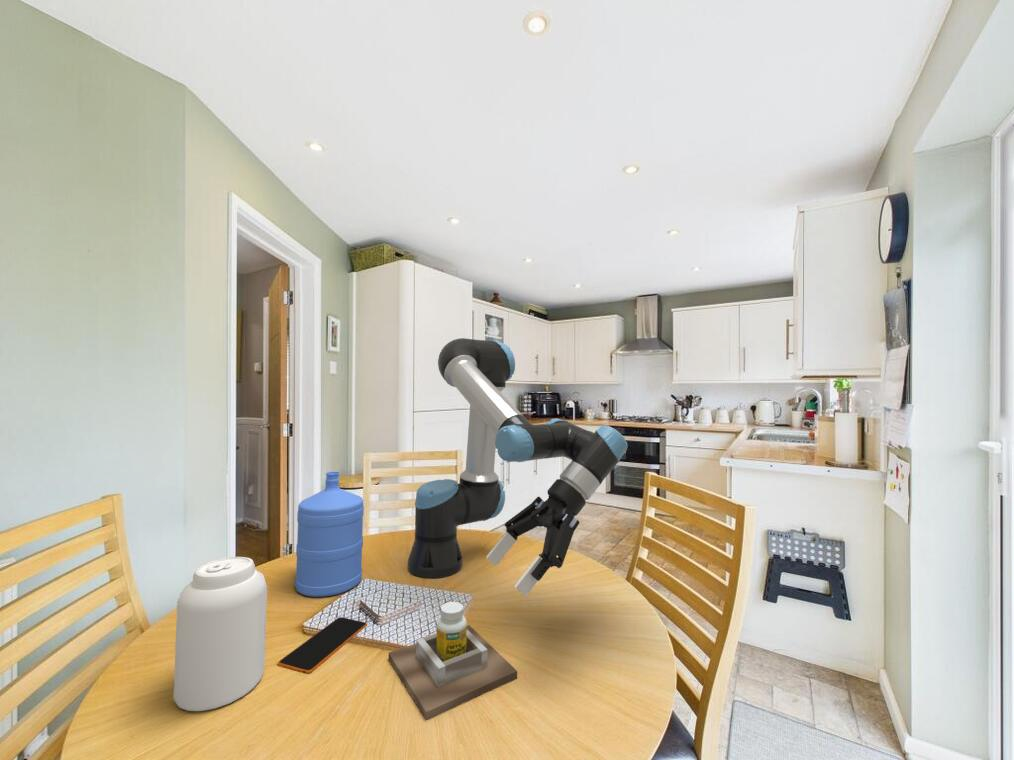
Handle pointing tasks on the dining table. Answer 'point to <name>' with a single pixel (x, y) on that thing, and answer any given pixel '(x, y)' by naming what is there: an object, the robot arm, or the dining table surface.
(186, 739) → the dining table surface
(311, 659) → the smartphone
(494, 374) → the robot arm
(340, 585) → the water jug
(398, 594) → the dining table surface
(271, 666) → the dining table surface
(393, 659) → the square framed base tray
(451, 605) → the supplement bottle
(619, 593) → the dining table surface
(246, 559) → the can
